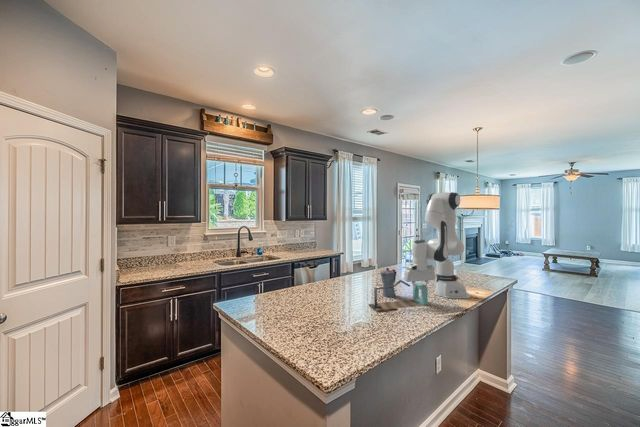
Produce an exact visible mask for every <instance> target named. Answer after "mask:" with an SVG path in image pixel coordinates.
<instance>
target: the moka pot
mask: <svg viewBox="0 0 640 427" xmlns="http://www.w3.org/2000/svg"><path fill="white" fill-rule="evenodd" d="M380 277H381V282H382V285H383V286H382V287H389V286H393V285H394V284H395V283H396V277H397V271H396V270H395V268H393V269H389V268H388V267H386V270H382V271H381V272H380ZM382 296H383V297H385V298H395V297H396V291H395V287H393V288H389V289H382Z"/></svg>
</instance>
